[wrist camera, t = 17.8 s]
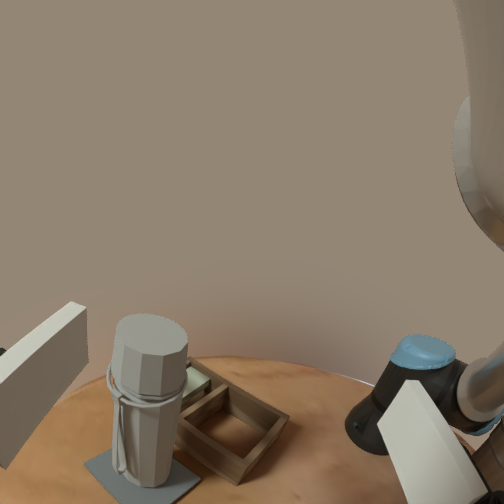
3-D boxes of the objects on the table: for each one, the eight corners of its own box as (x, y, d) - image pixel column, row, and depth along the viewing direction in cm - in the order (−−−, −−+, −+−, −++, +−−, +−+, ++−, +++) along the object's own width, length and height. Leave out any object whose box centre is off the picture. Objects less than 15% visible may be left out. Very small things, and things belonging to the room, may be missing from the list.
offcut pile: (186, 385, 52) (189, 365, 50) (205, 398, 50) (210, 378, 48) (150, 407, 43) (152, 386, 41) (171, 423, 41) (174, 403, 39)
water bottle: (140, 442, 34) (150, 303, 28) (181, 471, 31) (212, 339, 25) (98, 471, 25) (76, 328, 20) (141, 507, 22) (140, 384, 17)
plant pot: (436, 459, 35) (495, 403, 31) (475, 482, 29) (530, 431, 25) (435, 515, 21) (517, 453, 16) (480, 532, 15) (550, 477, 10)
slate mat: (142, 434, 36) (142, 431, 36) (200, 480, 31) (201, 478, 30) (84, 465, 26) (83, 462, 25) (143, 524, 20) (143, 523, 20)
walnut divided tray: (186, 378, 53) (190, 356, 52) (278, 436, 43) (290, 416, 42) (132, 407, 41) (133, 384, 39) (236, 486, 31) (246, 468, 30)
